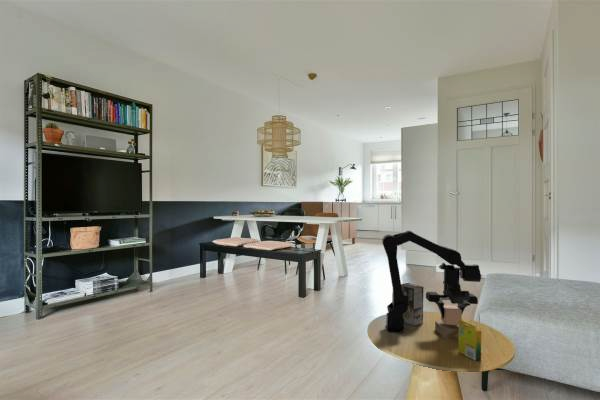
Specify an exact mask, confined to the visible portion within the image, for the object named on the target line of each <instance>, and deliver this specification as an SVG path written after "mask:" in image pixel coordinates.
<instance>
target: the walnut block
mask: <svg viewBox="0 0 600 400" xmlns="http://www.w3.org/2000/svg"><path fill="white" fill-rule="evenodd" d="M434 325H435V327H434V330H435V332H437V333H438V334H439V335H440V337H442V338H443V339H444V340H459V325H446V324H445V323H444V322H443V321H442V320H441V321H439V320H435V323H434Z"/></svg>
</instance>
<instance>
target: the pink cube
mask: <svg viewBox="0 0 600 400" xmlns="http://www.w3.org/2000/svg"><path fill="white" fill-rule="evenodd" d="M462 316H463V313H462V310H461V309H460V308H459V307H458V305H456V304H444V319H443V318H442V316H441V315H440V320H441V321H443V322H444V323H445V324H446V325H459V320H461V321H462Z"/></svg>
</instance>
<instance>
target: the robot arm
mask: <svg viewBox="0 0 600 400" xmlns="http://www.w3.org/2000/svg"><path fill="white" fill-rule="evenodd" d="M381 242H382V246H383V248H384V251H385V254H386V257H387V262H388V269H389V274H390V279H391V280H390V281H391V286H392V294H391V295H392V297H391V300H392V301H391V302H390V303H389V304H387V307H386V308H387V312H386V320H385V321H386V325H385V328H386V330H387V332H390V333H405V322H404V318H403V313H405V312H406V311H407V310H408V305H409V303H408V295H407V293H406V292H403V291H402V286H401V284H402V281H401V276H400V275H401V274H400V269H399V263H398V258H397V256H398V255H397V254H398V246H400V245H403V244H406V243H409V242H411V243H413V244H415V245H417V246H419V247H422V248H423V249H425V250H428V251H429V252H431V253H434V254H435V255H437V256H438V257H440V259H442V260H444V261H445V262H447V263H448V264H446V263H445V262H442V263H441V264H440V265H439V266H438V268H439V269H440V270H443V281H442V284H443V290H442V293H443V294H439V293H438V292H437V291H427V292H426V293H425V298H426V300H427V301H428V302H429V303H435V304H436V305H437V308H438V310H439V312H440V317H441V316H442V318H443V319H444V305H445V302H443V301H444V300H445V301H446V300H447V301H449V302H450V303H451V304H452V305H456V304H457V307H459V308H460V309H461V310H462V314H463V313H464V311H465V310H466V308H467V307H468V306H471V305H478V304H479V299H478V297H477V296H476V295H475V294H473V293H471V292H469V290H462V289H461V284H460V279H462V281H463V282H470V283H471V282H472V283H473V282H474V283H480V282H481V280H482V274H481V271H480V266H479V264H465V262H464V261H463V260H462V255H461V252H459V251H458V250H456V249H453V248H449V247H447V246H443V245H440V244H436V243H435V242H433V241H431V240H429V239H427V238H425V237H422V236H420V235H418V234H417V233H414V232H413V231H412V230H406V231H404V232H400V233H396V234H386V235H384V236H383V237H382V240H381ZM455 265H456V266H458V267H456V266H455Z"/></svg>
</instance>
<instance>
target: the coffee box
mask: <svg viewBox="0 0 600 400" xmlns="http://www.w3.org/2000/svg"><path fill="white" fill-rule="evenodd" d="M401 286H402V291H403V292H406V293H407V295H408V303H409V305H408V310H407V311H406V312H405V313H403V318H404V323H406V324H409V325H411V326H418V325H422V324H423V323H424V286H422V285H417V284H414V283H411V282H405V283H401Z"/></svg>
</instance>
